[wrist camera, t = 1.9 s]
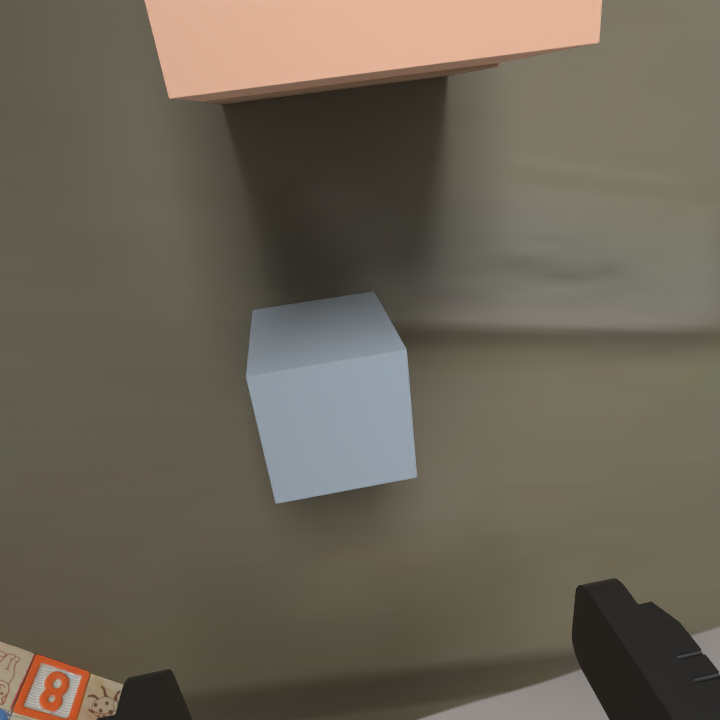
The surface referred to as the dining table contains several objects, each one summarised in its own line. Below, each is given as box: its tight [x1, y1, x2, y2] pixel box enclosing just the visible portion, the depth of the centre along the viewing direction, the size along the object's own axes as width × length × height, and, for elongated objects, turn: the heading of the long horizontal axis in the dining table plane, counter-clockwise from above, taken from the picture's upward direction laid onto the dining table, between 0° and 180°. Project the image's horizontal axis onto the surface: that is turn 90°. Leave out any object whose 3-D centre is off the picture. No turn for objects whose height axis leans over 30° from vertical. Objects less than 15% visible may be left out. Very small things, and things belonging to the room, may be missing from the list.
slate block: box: [246, 291, 417, 504], centre depth 20 cm, size 5×5×6 cm
